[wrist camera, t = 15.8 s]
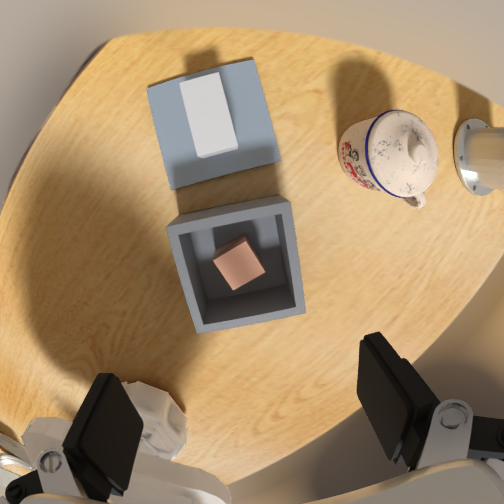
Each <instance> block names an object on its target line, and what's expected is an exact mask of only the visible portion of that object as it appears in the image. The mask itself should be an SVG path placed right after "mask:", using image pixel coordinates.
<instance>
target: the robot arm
mask: <svg viewBox="0 0 504 504" xmlns="http://www.w3.org/2000/svg"><path fill="white" fill-rule="evenodd" d="M454 158H455V164H456V169H457V172H458V175H459V177H460V179H461V182H462V183H463V185H464V186H465V188H466V189H467V190H468V191H470V192H471V193H472V194H475V195H479V196H485V195H488V194H489V193H491V192H492V191H493V190H494V189H498V190H502V191H504V127H489V126H488V125H487V124H486V123H485V122H484V121H482V120H480V119H477V118H474V119H467V120H465V121H464V122H463V123H462V124H461V125H460V126H459V128H458V130H457V133H456V136H455V142H454ZM357 395H358V398H359V400H360V402H361V404H362V406H363V408H364V410H365V412H366V414H367V416H368V418H369V420H370V422H371V424H372V427H373V429H374V431H375V433H376V435H377V437H378V439H379V441H380V443H381V445H382V447H383V449H384V452H385V454H386V456H387V458H388V459H389V460H394V462H395V464H396V465H398V464H400V463H403V462H405V463H406V465H407V467H409V469H408V472H407V473H405V474H403V475H400V476H397V477H395V478H392V479H389V480H386V481H383V482H381V483H378V484H375V485H372V486H369V487H366V488H362V489H360V490H356V491H352V492H349V493H345V494H342V495H338V496H334V497H331V498H327V499H323V500H318V501H314V502H309V503H304V504H504V419H495V418H487V417H479V416H473V413H472V410H471V408H470V407H469V405H468V404H466V403H465V402H463V401H460V400H447V401H444V402H442V403H440V401H439V400H438V399H437V397H436V396H435V395H434V393H433V392H432V391H431V390H430V388H429V387H428V385H427V384H426V383H425V382H424V380H423V379H422V378H421V377H420V375H419V374H418V373H417V371H416V370H415V369H414V368H413V366H412V365H411V364H410V363H409V361H408V360H407V359H405V358H402V359H401V358H400V356H399V355H398V354H397V353H396V351H395V350H394V349H393V347H392V346H391V345H390V344H389V342H388V341H387V340H386V339H385V337H384V336H383V335H382V334H381V333H380V332H375V333H371V334H368V335H365V336H364V340H361V341H360V348H359V366H358V380H357ZM143 427H144V423H143V420H142V418H141V416H140V415H139V413H138V411H137V410H136V408H135V406H134V405H133V403H132V401H131V400H130V398H129V396H128V394H127V393H126V391H125V389H124V387H123V385H122V383H121V382H120V380H119V378H118V377H117V376H115V375H114V374H113V373H99V374H98V375H97V377H96V379H95V381H94V382H93V384H92V386H91V388H90V390H89V392H88V394H87V395H86V397H85V399H84V401H83V403H82V405H81V407H80V409H79V411H78V413H77V415H76V417H75V419H74V421H73V423H72V425H71V427H70V429H69V431H68V433H67V435H66V437H65V439H64V441H63V443H62V445H61V446H62V447H63V448H64V449H63V451H61V450H59V449H56V448H51V449H47V450H45V451H44V452H42V453H41V454H40V456H39V457H38V459H37V469H36V470H34V471H32V472H30V473H28V474H26V475H24V476H21V477H19V478H17V479H15V480H13V481H11V482H10V483H9V484H8V485H7V487H6V492H5V495H6V497H4V496H2V497H0V504H112V502H111V500H110V498H109V497H110V494H111V495H116V496H122V497H123V495H124V491H126V490H127V489H128V486H129V482H130V478H131V474H132V470H133V466H134V462H135V458H136V454H137V450H138V446H139V442H140V439H141V435H142V431H143Z"/></svg>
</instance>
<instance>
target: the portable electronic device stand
mask: <svg viewBox="0 0 504 504" xmlns="http://www.w3.org/2000/svg"><path fill="white" fill-rule="evenodd" d="M0 445H1V446H2V447H3V448H5V449H6V450H8V451H9V452H11V453H12V454H14V455H15V456H13V455H9V454H1V453H0V485H1V486H3V487H5V488H6V487H7V485H8V484H9V483H10V482H11V481H13V480H15V479H17V478H19V477H21V476H20V475H18V474H15V473H13V472H11V471H8V470H6V469H4V468H2V467H3V466H4V465H7V464H15V465H19V466H22V467H24V468H27V469H29V470H31V471H32V468H33V467H32V464H31V462H30V459H29V457H28V454H27V452H26V449H25V446H24V445H22V444H20V443H19V442H17V441H15V440H14V439H12V438H11V437H9V436H7V435H5V434H3V433H0ZM16 456H17V457H16ZM18 457H19V458H18Z"/></svg>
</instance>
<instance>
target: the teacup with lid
mask: <svg viewBox="0 0 504 504" xmlns="http://www.w3.org/2000/svg"><path fill="white" fill-rule="evenodd" d="M338 156H339V161H340V165H341V167H342V169H343V171H344V173H345V174H346V176H347V177H348V178H349V179H350V180H351V181H352V182H353V183H355V184H357V185H358V186H361V187H364V188H368V189H373V190H378V191H383V192H387V193H389V194H391V195H393V196H395V197H399V198H402V199H403V200H404V201H405V202H406V203H407V204H408V205H410V206H412V207H413V208H416V209H421V208H422V207H423V206H424V205H425V204H426V196H425V194H424V191H425V190H426V189H427V188H428V187H429V185H430V184H431V183H432V181H433V179H434V177H435V174H436V171H437V167H438V150H437V145H436V142H435V139H434V137H433V135H432V133H431V131H430V129H429V128H428V127H427V125H426V124H425V123H424V122H423V121H422V120H421V119H420V118H418V117H417V116H415V115H414V114H412V113H409V112H407V111H403V110H390V111H386V112H384V113H382V114H381V115H379V116H377V117H374V118H371V119H367V120H364V121H361V122H357V123H355V124H353V125H351V126H350V127H349V128H348V129H347V130H346V131H345V132H344V133H343V135H342V137H341V139H340V143H339V148H338ZM414 196H415V197H416V198H415V197H414Z"/></svg>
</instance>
